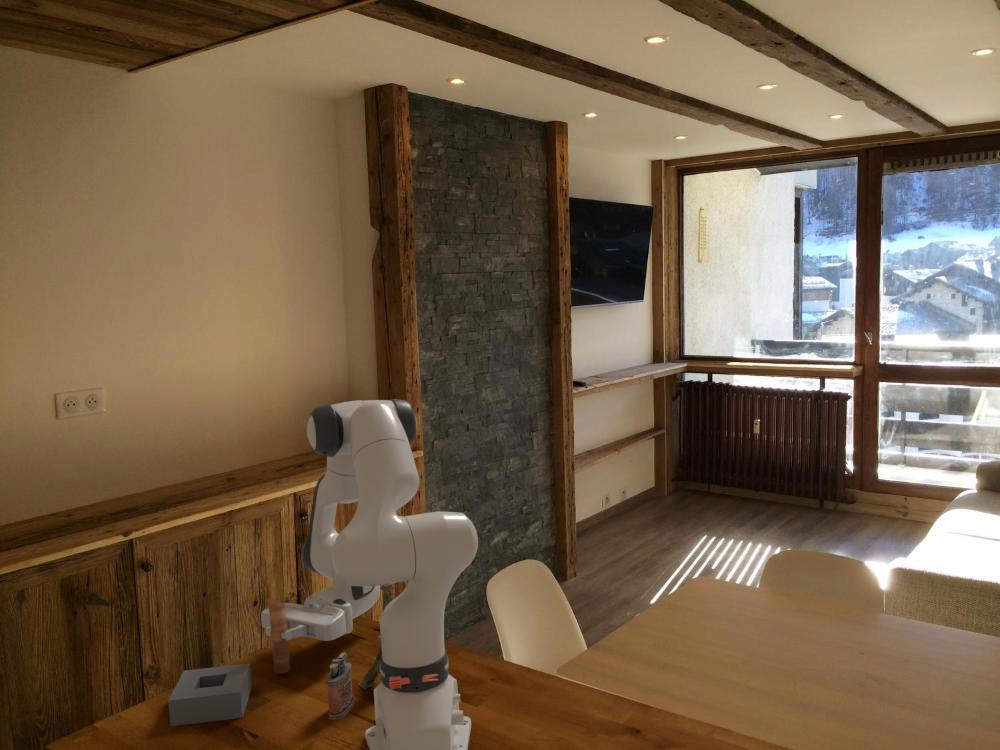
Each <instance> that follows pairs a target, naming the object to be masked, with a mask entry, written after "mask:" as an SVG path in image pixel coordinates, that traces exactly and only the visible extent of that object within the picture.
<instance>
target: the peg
mask: <svg viewBox="0 0 1000 750" xmlns="http://www.w3.org/2000/svg"><path fill="white" fill-rule="evenodd" d="M268 608H269V614H270V625H271V645H272V658H273V670H274V674H279V675H280V674H281V675H282V674H286V673H288V672H290V671H291V664H290V662H291V661H290V651H289V640H288V641H287V640H283V639H282V635H281V633H282V631H285V630H286V629H287V625H286V613H285V604H284V602H275V603H272V604H270V605H268Z"/></svg>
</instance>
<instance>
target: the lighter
mask: <svg viewBox="0 0 1000 750" xmlns="http://www.w3.org/2000/svg"><path fill="white" fill-rule="evenodd" d="M347 660H348V653H346V652H341V653H340V655H338V656H337V658H333V659H332V661H331V664H330V665H329V673H328V674H327V676H326V678H325V683H326V685H327V695H328V696H327V698H328V709H329V710H328V719H329V720H330V719H331V721H339V720H341V719H343V718H344V717H345V716H346V715H347V714H348V713H349V712H350V711H351V710H352V707H353V706H354V704H355V696H354V694H353V693H354V692H353V684H352V683H353V682H352V663H351V662H346V661H347Z"/></svg>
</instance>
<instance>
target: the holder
mask: <svg viewBox="0 0 1000 750" xmlns="http://www.w3.org/2000/svg"><path fill="white" fill-rule="evenodd" d="M177 681H178V682H177V683H176V685H175V687H174V688H173V691H172V693H171V694H170V696H169V698H168V701H167V703H168V710H169V711H168V712H169V713H168V714H169V722H170V723H169V724H170V727H177V726H184V725H194V724H202V723H210V722H211V723H212V722H217V721H218V722H220V721H226V720H234V719H235V720H236V719H243V718H244V714H245V712H246V708H247V705H248V702H249V699H250V695H251V693H252V689H253V678H252V667H251V663H250V662H249V663H248V662H247V663H240V664H233V665H232V664H231V665H223V666H215V667H214V666H213V667H206V668H196V669H195V668H194V669H187V670H183V672H182V673H181V675H180V678H179V679H178V680H177Z"/></svg>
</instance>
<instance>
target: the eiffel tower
mask: <svg viewBox="0 0 1000 750" xmlns="http://www.w3.org/2000/svg"><path fill="white" fill-rule="evenodd" d="M393 585H394V583H391V584H385V585H380V591H382V613H383V611H384V609H385V607H386V606H387V605H388V604H389V603H390V602H391V601H392V600H394V599H393V594H392V591H393V590H394V589H396V588H395V587H394V586H393ZM382 613H381V614H382ZM377 642H379V646H378V650H377V654H376V657H375V656H374V657H373V659H374V662H373V663H372V665H371V666H370V668H369V669H368V671H367V672H366V673H365V675H364V676H363V678H362V680H361V681H360V682H358V683H357V686H359V687H360V688H362V689H363V690H366V689H368V688H371V687H373V686H376V685H377V681H375V680H377V677H378V676H379V675H380V674H381V672H380V658H381V656H382V646H381V635H378V636H377Z"/></svg>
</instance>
